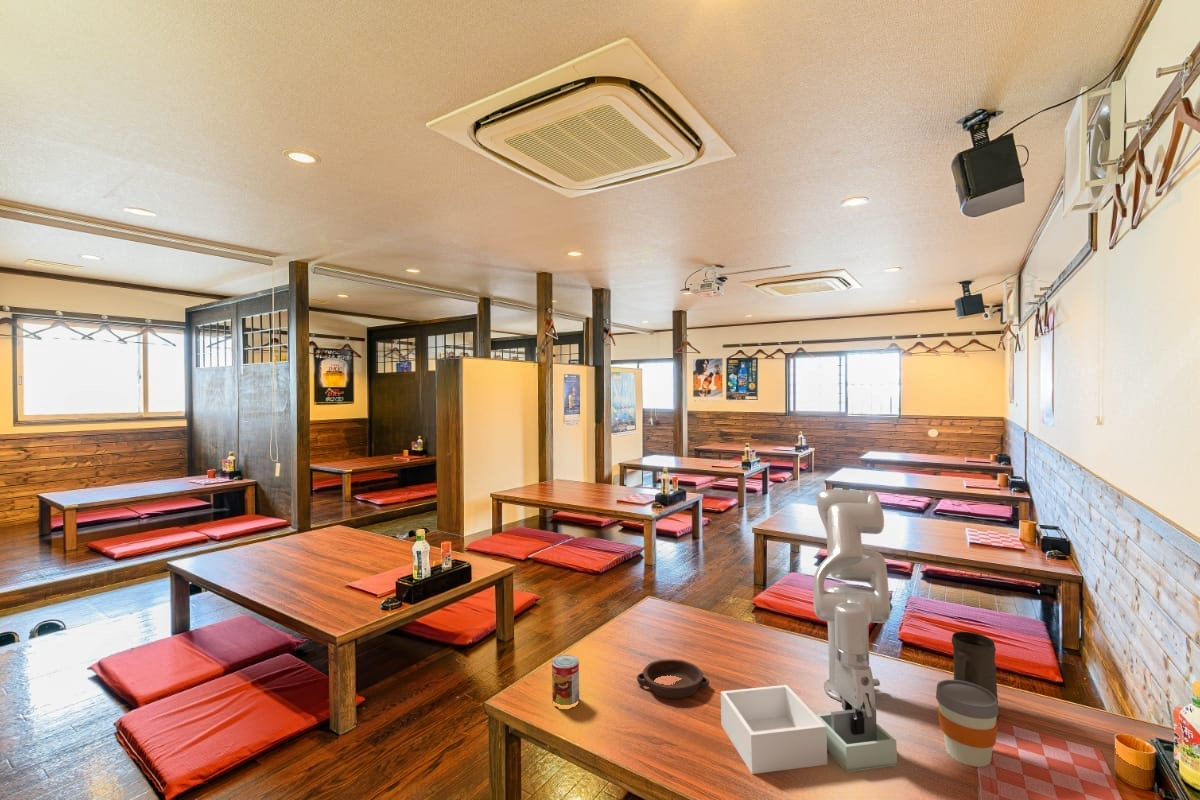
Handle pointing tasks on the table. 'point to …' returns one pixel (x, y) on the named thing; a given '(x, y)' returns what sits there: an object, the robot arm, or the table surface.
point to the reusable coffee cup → (967, 721)
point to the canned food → (565, 679)
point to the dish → (678, 668)
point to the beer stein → (975, 660)
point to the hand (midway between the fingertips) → (854, 729)
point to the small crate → (858, 742)
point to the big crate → (773, 729)
